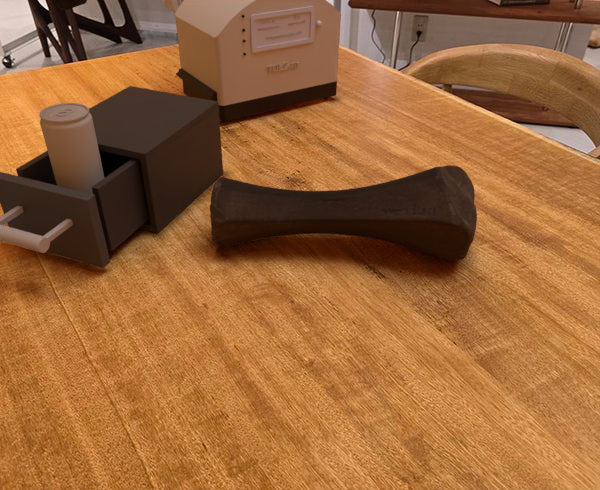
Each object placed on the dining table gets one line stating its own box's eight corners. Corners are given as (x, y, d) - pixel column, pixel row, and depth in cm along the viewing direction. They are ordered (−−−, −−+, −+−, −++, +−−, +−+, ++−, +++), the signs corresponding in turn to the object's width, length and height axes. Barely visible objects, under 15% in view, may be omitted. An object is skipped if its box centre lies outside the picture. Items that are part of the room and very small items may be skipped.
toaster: (217, 129, 88) (208, 1, 77) (152, 79, 104) (137, -33, 93) (343, 99, 98) (350, -17, 87) (266, 58, 114) (264, -45, 103)
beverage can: (57, 225, 63) (26, 116, 56) (85, 204, 67) (59, 99, 59) (96, 234, 62) (69, 124, 54) (121, 212, 65) (100, 106, 58)
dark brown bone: (468, 253, 67) (227, 269, 70) (466, 159, 65) (218, 178, 68) (492, 266, 57) (206, 284, 59) (490, 154, 55) (195, 177, 57)
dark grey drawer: (71, 297, 56) (50, 227, 51) (-23, 268, 59) (-51, 199, 54) (179, 201, 70) (171, 139, 65) (99, 182, 73) (85, 122, 68)
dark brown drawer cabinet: (157, 233, 66) (144, 153, 60) (66, 210, 69) (45, 132, 63) (223, 173, 77) (218, 101, 71) (141, 156, 81) (130, 85, 75)
